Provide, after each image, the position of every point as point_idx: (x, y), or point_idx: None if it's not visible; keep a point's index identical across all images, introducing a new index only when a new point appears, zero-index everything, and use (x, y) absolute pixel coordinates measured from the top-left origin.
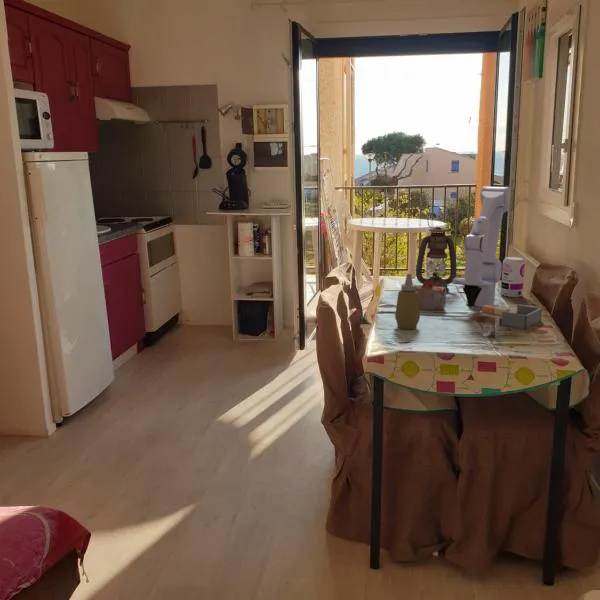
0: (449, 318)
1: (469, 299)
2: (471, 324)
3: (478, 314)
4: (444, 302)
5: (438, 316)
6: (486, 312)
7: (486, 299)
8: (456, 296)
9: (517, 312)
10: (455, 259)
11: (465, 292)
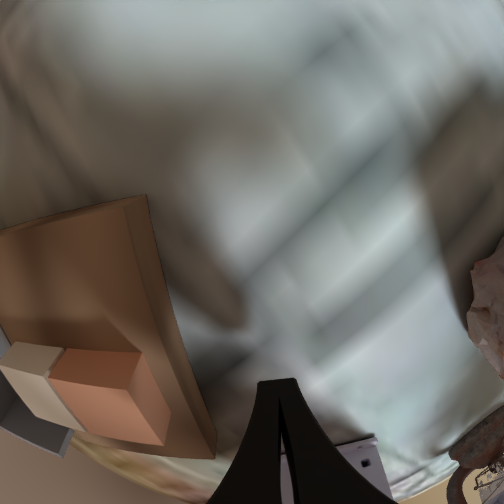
0: (330, 92)
1: (289, 436)
2: (79, 82)
3: (89, 252)
4: (492, 301)
5: (426, 101)
6: (106, 351)
7: (282, 491)
8: (426, 453)
9: None
10: None
11: (360, 493)
